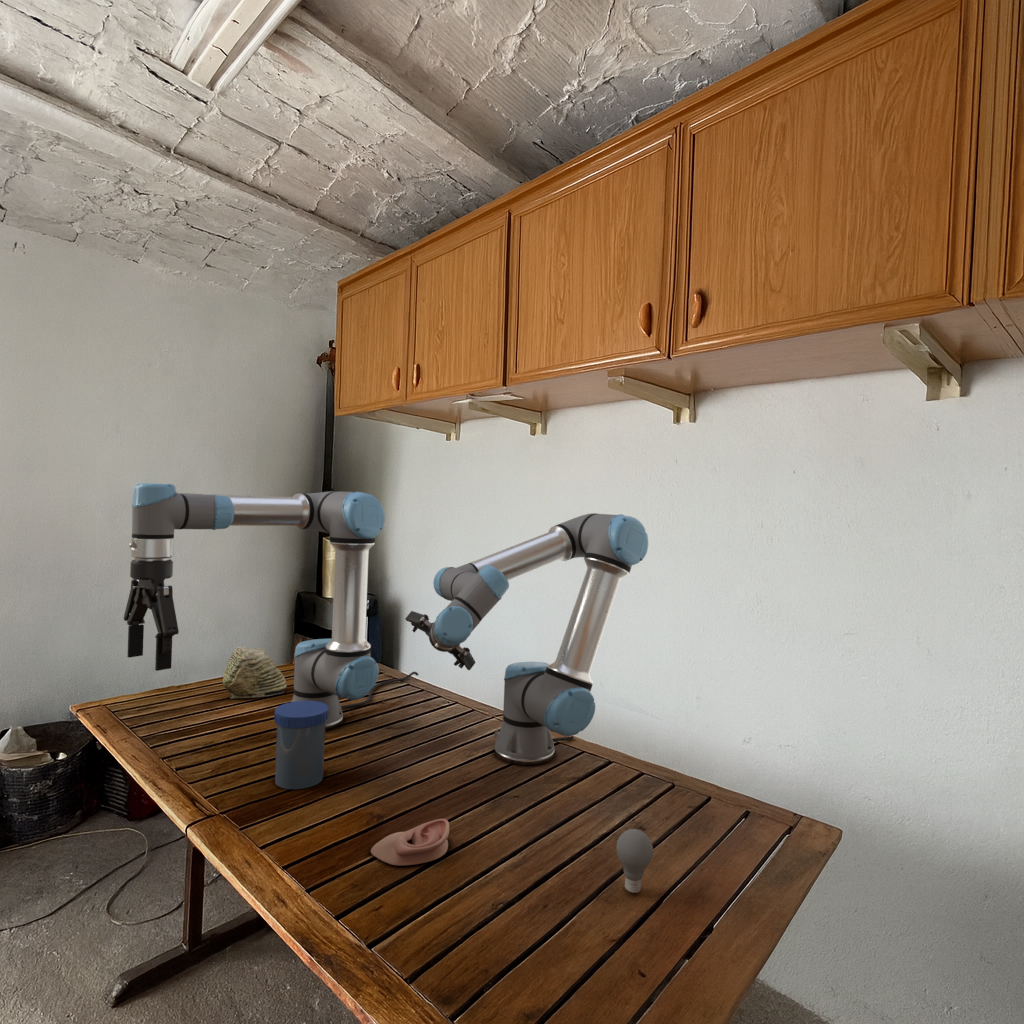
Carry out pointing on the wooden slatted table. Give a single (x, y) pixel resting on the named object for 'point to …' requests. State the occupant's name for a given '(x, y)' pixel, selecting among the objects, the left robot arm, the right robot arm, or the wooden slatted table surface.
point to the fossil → (252, 674)
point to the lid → (301, 714)
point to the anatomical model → (414, 844)
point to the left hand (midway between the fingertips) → (148, 662)
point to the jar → (299, 756)
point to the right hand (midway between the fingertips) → (437, 644)
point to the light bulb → (634, 857)
